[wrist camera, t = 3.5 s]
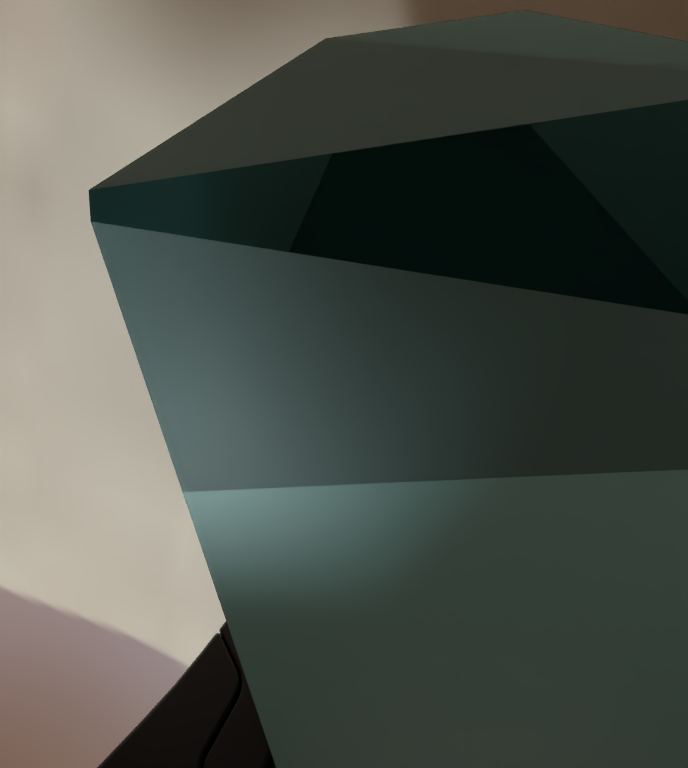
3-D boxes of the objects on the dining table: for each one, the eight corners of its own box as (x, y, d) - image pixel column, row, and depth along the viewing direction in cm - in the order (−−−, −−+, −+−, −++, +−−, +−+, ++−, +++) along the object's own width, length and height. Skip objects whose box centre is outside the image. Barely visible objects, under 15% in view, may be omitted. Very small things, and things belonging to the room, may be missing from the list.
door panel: (515, 650, 14) (597, 1155, 8) (403, 651, 14) (401, 1136, 8) (525, 10, 8) (958, 94, 2) (325, 38, 8) (80, 195, 2)
